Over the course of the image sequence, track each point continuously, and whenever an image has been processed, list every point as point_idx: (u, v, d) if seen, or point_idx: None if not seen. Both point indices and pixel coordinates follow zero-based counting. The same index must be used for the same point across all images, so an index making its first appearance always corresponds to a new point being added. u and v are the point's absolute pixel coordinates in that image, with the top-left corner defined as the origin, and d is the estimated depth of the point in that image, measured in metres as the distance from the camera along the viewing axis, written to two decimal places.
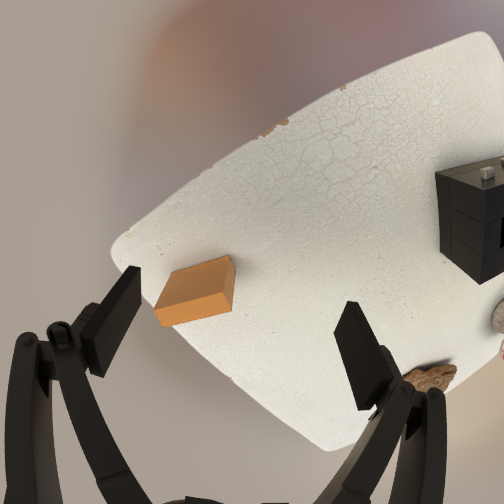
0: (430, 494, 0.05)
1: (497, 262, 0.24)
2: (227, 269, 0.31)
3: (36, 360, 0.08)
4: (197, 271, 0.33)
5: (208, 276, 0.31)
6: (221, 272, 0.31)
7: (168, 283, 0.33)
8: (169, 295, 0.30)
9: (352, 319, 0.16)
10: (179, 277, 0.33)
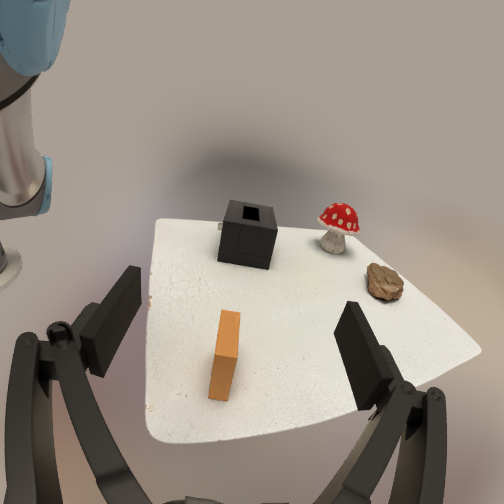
0: (430, 494, 0.05)
1: (267, 223, 0.64)
2: None
3: (36, 360, 0.08)
4: None
5: None
6: None
7: (210, 382, 0.30)
8: None
9: (352, 320, 0.16)
10: None
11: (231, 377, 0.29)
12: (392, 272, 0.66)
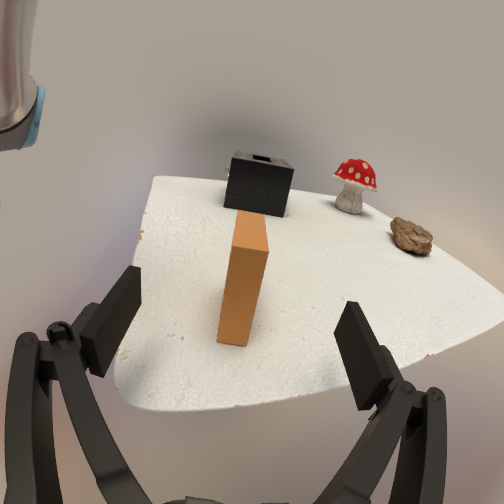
0: (430, 494, 0.05)
1: (281, 164, 0.54)
2: None
3: (36, 360, 0.08)
4: None
5: None
6: None
7: (221, 309, 0.21)
8: None
9: (352, 320, 0.16)
10: None
11: (256, 295, 0.20)
12: (418, 227, 0.57)
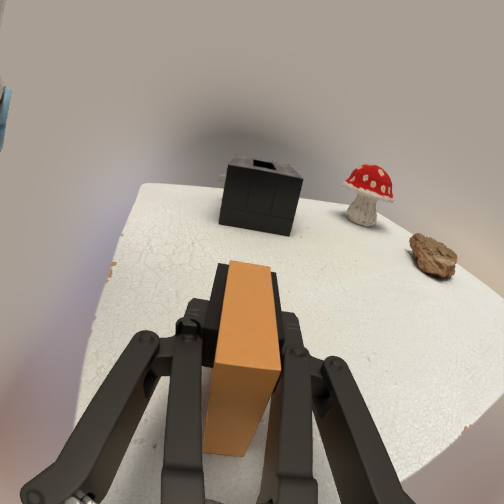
0: (378, 472, 0.07)
1: (288, 172, 0.46)
2: None
3: (149, 362, 0.10)
4: None
5: None
6: None
7: (205, 424, 0.12)
8: None
9: None
10: None
11: (258, 417, 0.11)
12: (441, 244, 0.48)
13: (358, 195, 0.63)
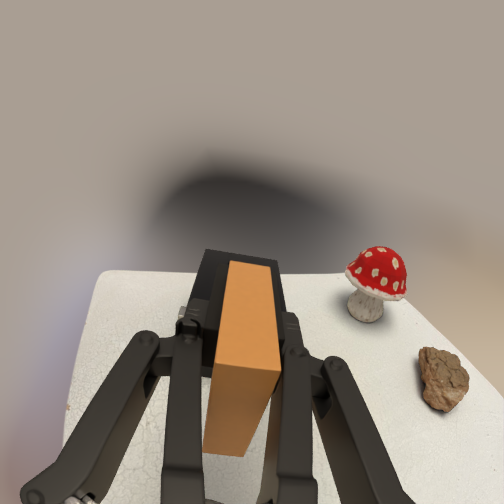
0: (378, 472, 0.07)
1: None
2: None
3: (149, 362, 0.10)
4: None
5: None
6: None
7: None
8: None
9: None
10: None
11: (258, 417, 0.11)
12: (454, 360, 0.36)
13: None
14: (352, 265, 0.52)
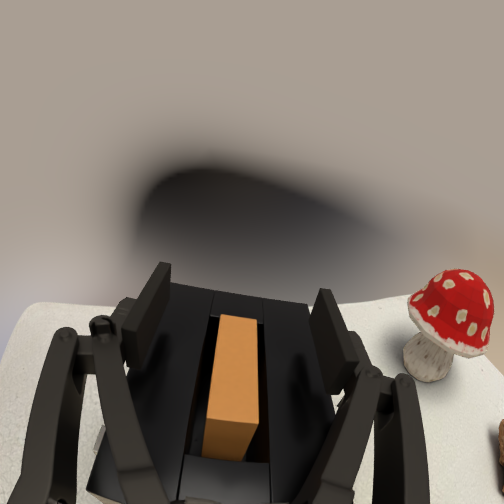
0: (415, 484, 0.06)
1: (308, 465, 0.10)
2: None
3: (73, 356, 0.09)
4: None
5: None
6: None
7: None
8: None
9: (323, 306, 0.17)
10: None
11: (243, 450, 0.12)
12: None
13: None
14: (420, 300, 0.28)
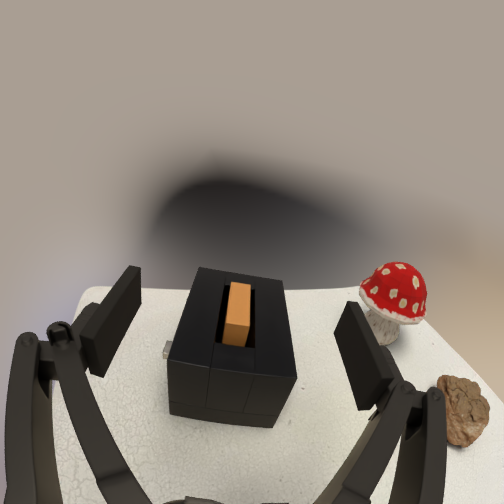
0: (430, 494, 0.05)
1: (274, 351, 0.27)
2: None
3: (36, 360, 0.08)
4: None
5: (225, 317, 0.34)
6: (226, 311, 0.36)
7: None
8: None
9: (352, 320, 0.16)
10: None
11: None
12: (474, 388, 0.29)
13: None
14: (367, 283, 0.45)
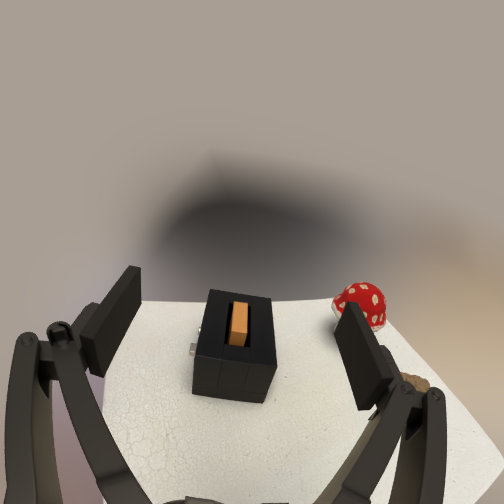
0: (430, 494, 0.05)
1: (262, 349, 0.41)
2: (231, 322, 0.51)
3: (36, 360, 0.08)
4: None
5: (230, 326, 0.49)
6: (230, 321, 0.50)
7: None
8: None
9: (352, 320, 0.16)
10: None
11: None
12: (423, 384, 0.43)
13: None
14: (337, 299, 0.59)
